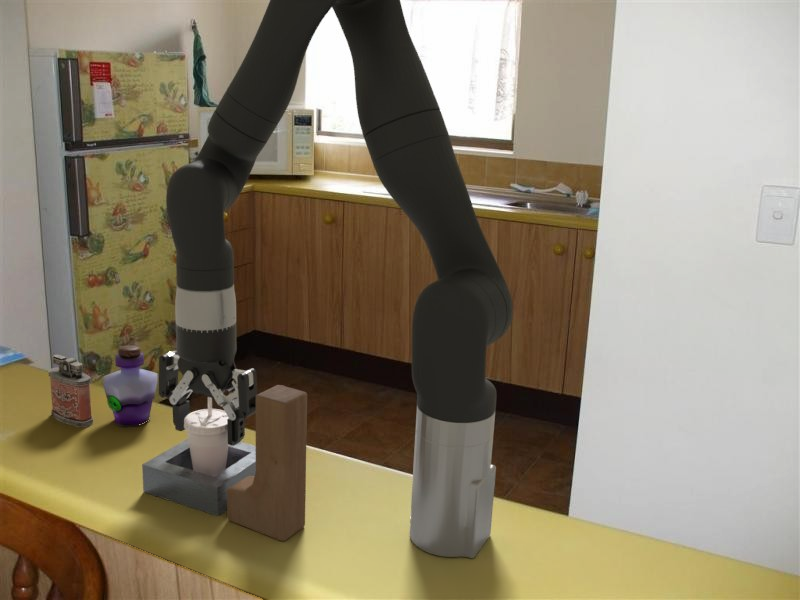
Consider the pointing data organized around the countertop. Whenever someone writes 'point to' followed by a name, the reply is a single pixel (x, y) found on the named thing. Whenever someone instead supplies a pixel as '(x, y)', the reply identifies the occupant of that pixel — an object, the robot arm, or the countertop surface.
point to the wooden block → (275, 467)
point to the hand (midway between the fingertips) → (208, 435)
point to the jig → (197, 477)
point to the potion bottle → (130, 388)
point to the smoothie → (208, 439)
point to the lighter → (70, 392)
